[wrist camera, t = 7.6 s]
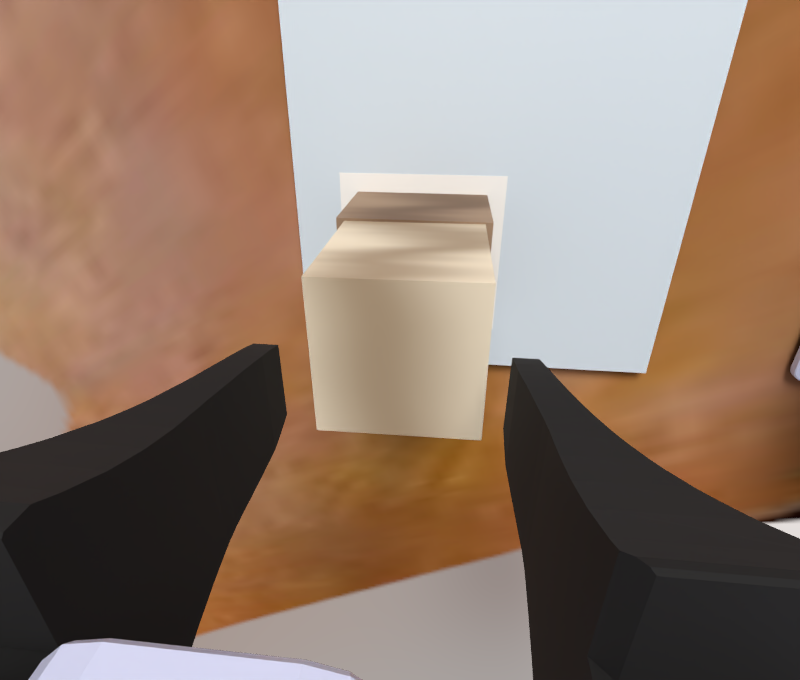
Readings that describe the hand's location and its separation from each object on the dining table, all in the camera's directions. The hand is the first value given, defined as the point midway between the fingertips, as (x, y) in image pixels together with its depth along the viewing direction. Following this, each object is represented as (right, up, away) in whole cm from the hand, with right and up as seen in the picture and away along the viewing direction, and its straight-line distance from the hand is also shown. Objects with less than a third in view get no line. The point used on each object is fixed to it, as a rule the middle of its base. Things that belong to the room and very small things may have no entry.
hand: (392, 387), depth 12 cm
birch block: (+1, +3, +5) cm, 6 cm away
